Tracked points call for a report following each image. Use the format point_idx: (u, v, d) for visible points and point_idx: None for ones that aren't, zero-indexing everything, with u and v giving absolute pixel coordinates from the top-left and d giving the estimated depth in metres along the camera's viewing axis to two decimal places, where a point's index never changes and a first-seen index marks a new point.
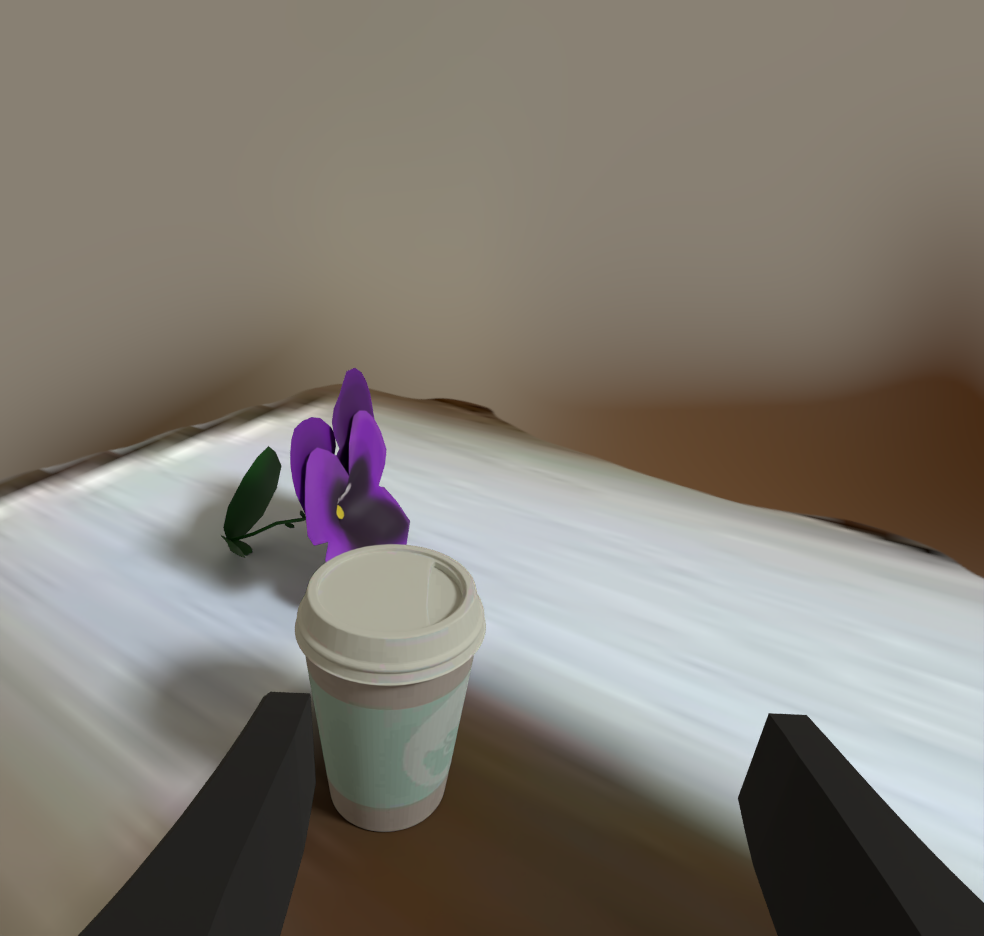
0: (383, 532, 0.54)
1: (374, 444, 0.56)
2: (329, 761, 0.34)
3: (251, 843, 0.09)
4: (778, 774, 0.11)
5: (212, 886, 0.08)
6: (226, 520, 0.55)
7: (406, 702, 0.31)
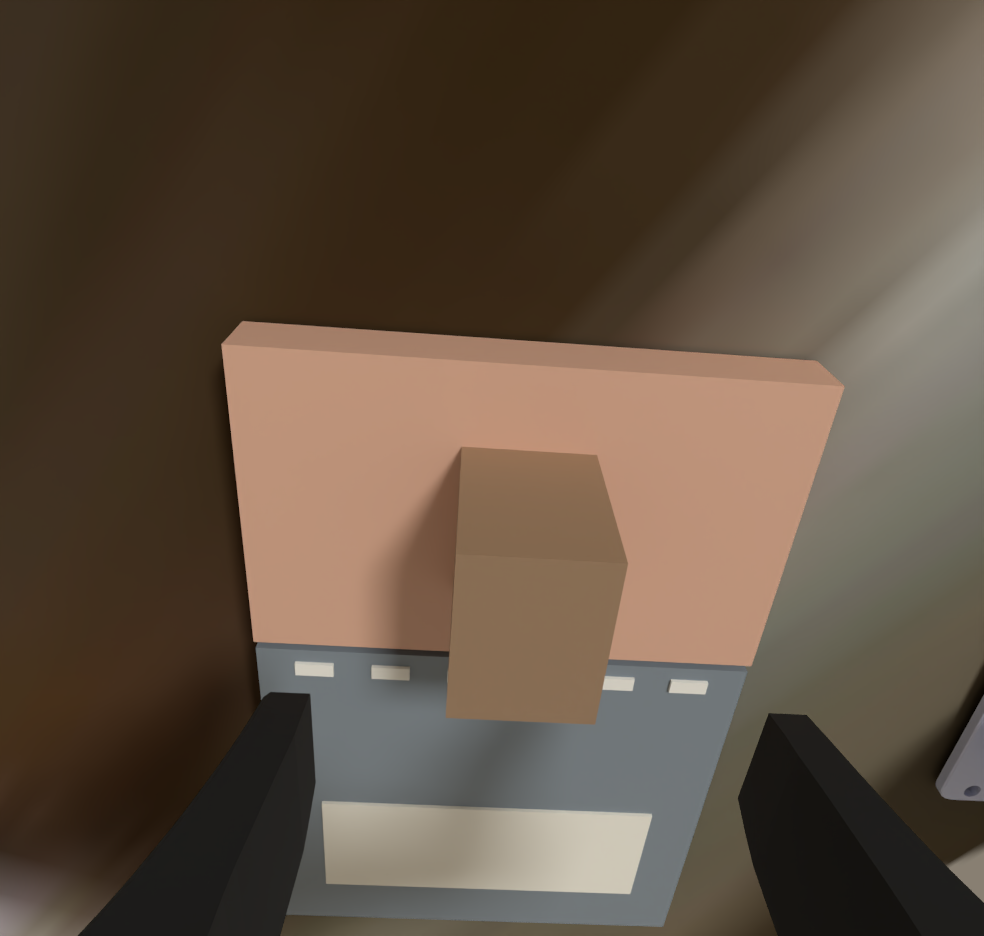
0: None
1: None
2: None
3: (251, 843, 0.09)
4: (778, 774, 0.11)
5: (212, 886, 0.08)
6: None
7: None
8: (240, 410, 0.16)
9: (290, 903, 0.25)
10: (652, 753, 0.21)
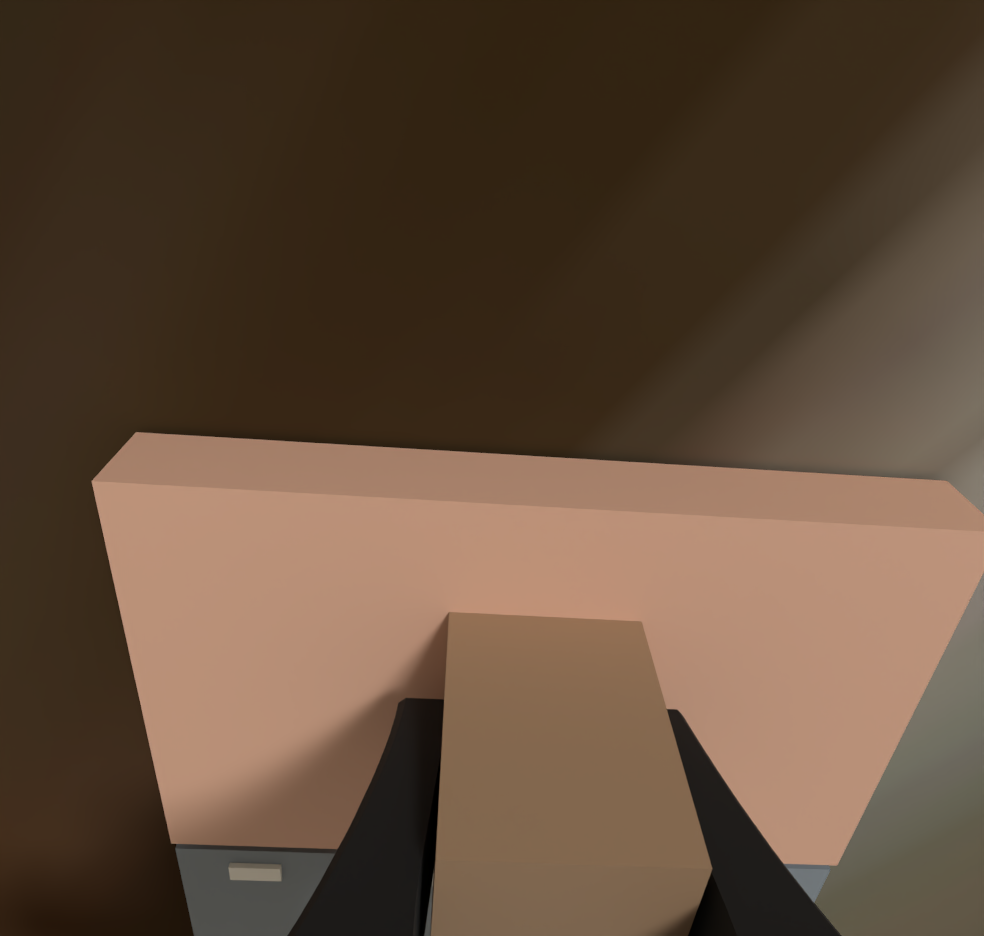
0: None
1: None
2: None
3: (424, 849, 0.09)
4: None
5: (399, 892, 0.08)
6: None
7: None
8: (128, 567, 0.11)
9: None
10: None
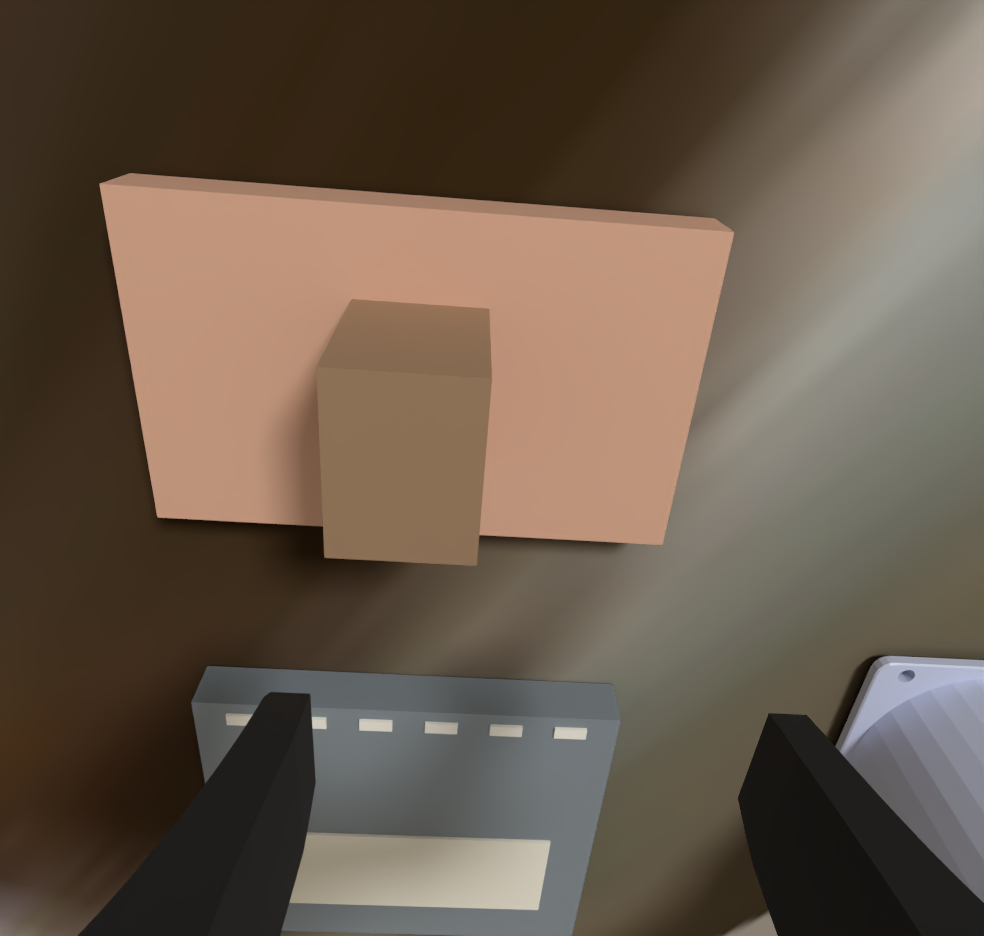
0: None
1: None
2: None
3: (251, 843, 0.09)
4: (778, 774, 0.11)
5: (212, 886, 0.08)
6: None
7: None
8: (124, 258, 0.16)
9: None
10: (545, 788, 0.24)
